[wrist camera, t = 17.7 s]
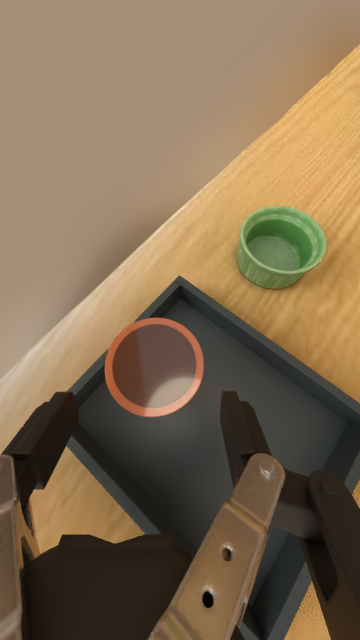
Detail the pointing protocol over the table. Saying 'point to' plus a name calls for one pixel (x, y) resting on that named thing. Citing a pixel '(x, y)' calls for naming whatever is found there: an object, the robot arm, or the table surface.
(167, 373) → the cup
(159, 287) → the table surface
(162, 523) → the tray
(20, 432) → the robot arm
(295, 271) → the ramekin
